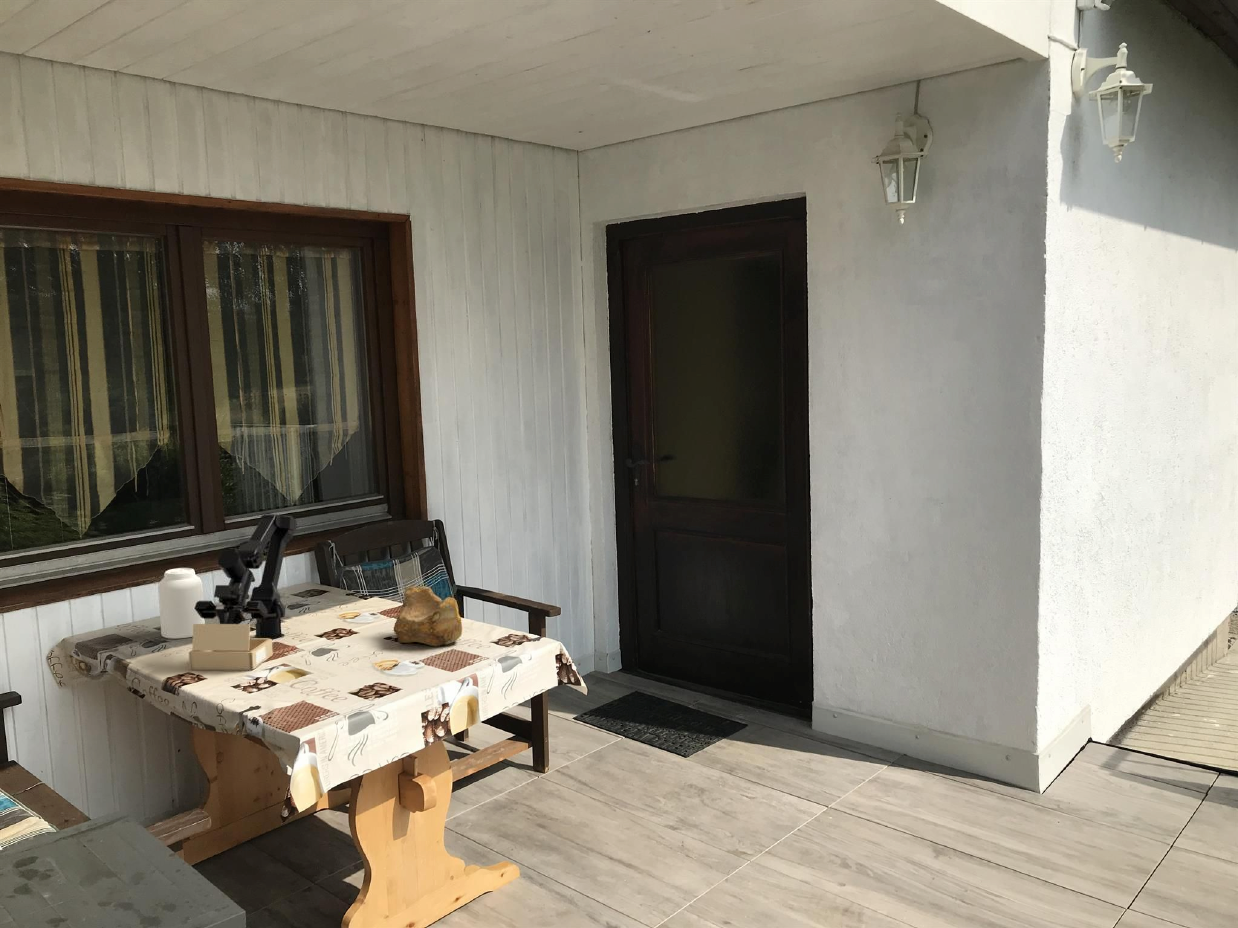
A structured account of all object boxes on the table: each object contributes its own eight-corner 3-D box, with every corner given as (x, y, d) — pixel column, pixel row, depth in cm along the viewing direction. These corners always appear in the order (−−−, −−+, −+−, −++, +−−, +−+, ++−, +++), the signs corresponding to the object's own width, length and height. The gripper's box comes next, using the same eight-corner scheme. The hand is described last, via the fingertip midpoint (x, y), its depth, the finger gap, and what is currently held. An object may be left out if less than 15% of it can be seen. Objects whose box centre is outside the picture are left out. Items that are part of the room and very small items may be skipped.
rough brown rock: (377, 641, 296) (372, 594, 293) (423, 625, 307) (419, 580, 304) (421, 660, 280) (417, 610, 277) (468, 642, 291) (464, 595, 288)
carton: (212, 654, 282) (211, 637, 282) (274, 655, 281) (273, 638, 280) (189, 669, 269) (188, 651, 268) (253, 670, 268) (252, 652, 267)
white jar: (174, 641, 295) (170, 576, 293) (153, 635, 303) (148, 571, 301) (213, 632, 305) (209, 568, 303) (191, 625, 313) (187, 563, 310)
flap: (192, 649, 269) (193, 623, 269) (249, 650, 267) (250, 624, 268) (192, 649, 268) (193, 623, 269) (248, 650, 267) (249, 624, 268)
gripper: (195, 572, 273) (177, 621, 263) (261, 572, 272) (245, 622, 262) (210, 593, 282) (194, 641, 272) (274, 593, 281) (259, 642, 271)
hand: (222, 636), depth 269 cm, fingers closed
